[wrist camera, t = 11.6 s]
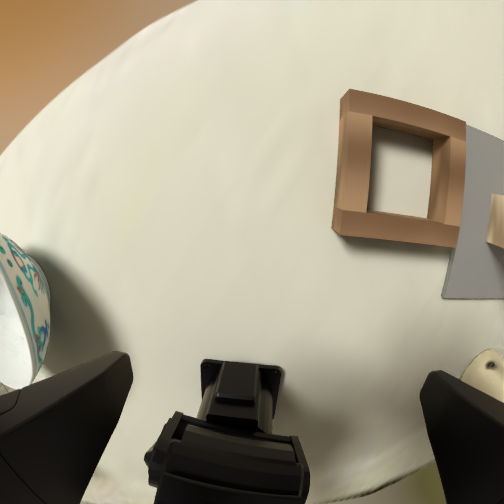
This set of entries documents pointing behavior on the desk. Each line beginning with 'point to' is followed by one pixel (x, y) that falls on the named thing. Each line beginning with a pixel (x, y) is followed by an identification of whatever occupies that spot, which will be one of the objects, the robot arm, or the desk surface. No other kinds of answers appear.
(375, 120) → the collar
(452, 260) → the rubber mat
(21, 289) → the chinaware
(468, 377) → the beer glass
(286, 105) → the desk surface
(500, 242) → the peg
